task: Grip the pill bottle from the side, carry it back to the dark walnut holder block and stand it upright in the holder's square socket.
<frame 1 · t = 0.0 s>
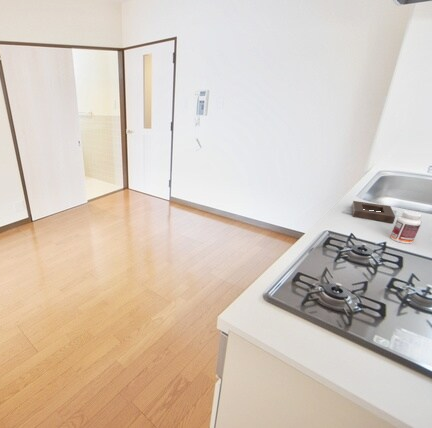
holder: (370, 214, 124), on the counter
pill bottle: (400, 240, 105), on the counter
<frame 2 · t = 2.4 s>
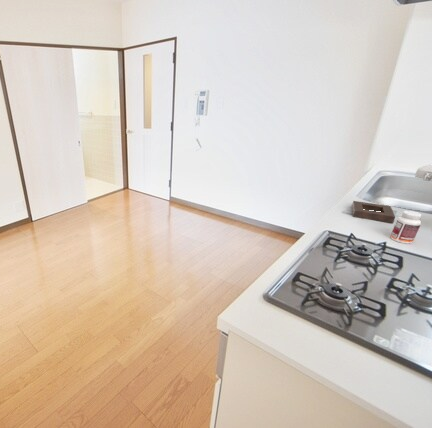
nothing on the counter moved.
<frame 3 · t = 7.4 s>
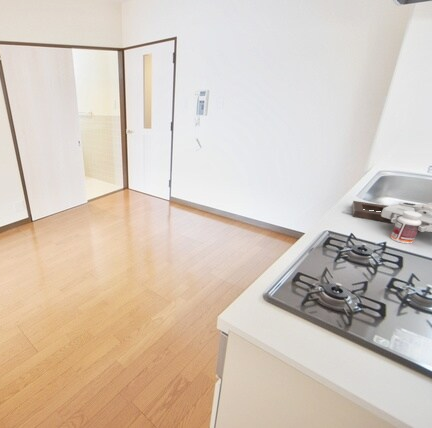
hand: (406, 224, 101), 7 cm above the counter, tool horizontal, fingers closed on pill bottle, 6 cm apart
pill bottle: (400, 240, 105), on the counter, touching gripper
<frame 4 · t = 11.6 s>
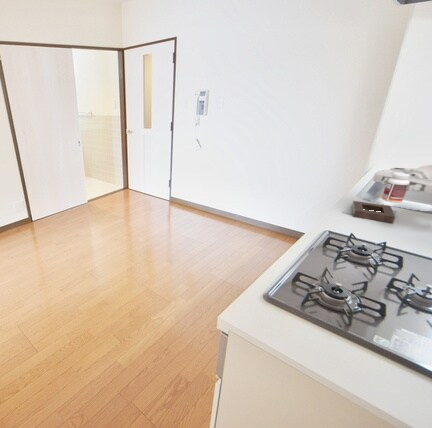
hand: (395, 185, 110), 17 cm above the counter, tool horizontal, fingers closed on pill bottle, 6 cm apart
pill bottle: (390, 200, 113), point 10 cm above the counter, touching gripper
when the fingers open (7 cm above the counter, at t = 16.0 s): pill bottle stays where it is, resting in holder.
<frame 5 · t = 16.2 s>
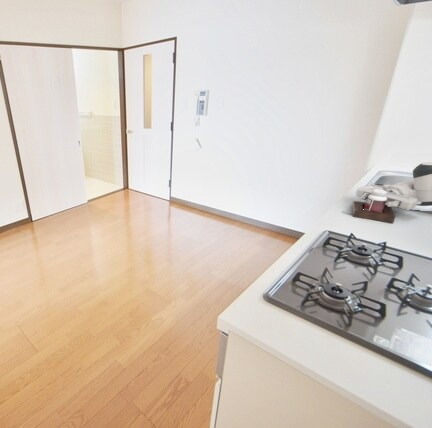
hand: (374, 201, 121), 7 cm above the counter, tool horizontal, fingers open, 7 cm apart
pill bottle: (371, 214, 124), resting in holder
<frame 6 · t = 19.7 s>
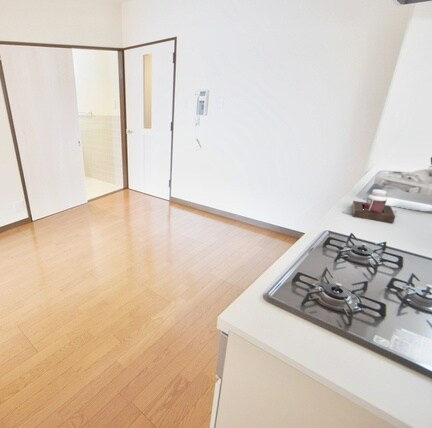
hand: (394, 187, 124), 11 cm above the counter, tool horizontal, fingers open, 8 cm apart
nothing on the counter moved.
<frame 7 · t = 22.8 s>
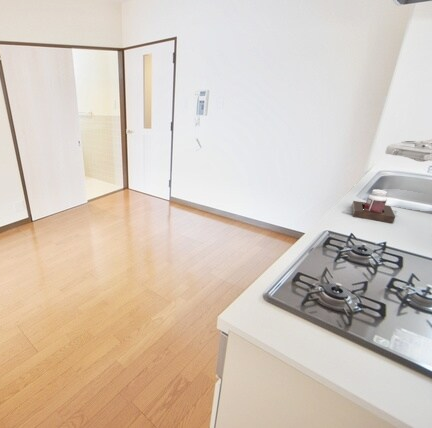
hand: (407, 155, 118), 25 cm above the counter, tool horizontal, fingers open, 8 cm apart
nothing on the counter moved.
at the end: pill bottle 0.4 cm off-centre in the holder, point 0.0 cm above the holder's base; pill bottle tilted 0°; the gripper is holding nothing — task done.
